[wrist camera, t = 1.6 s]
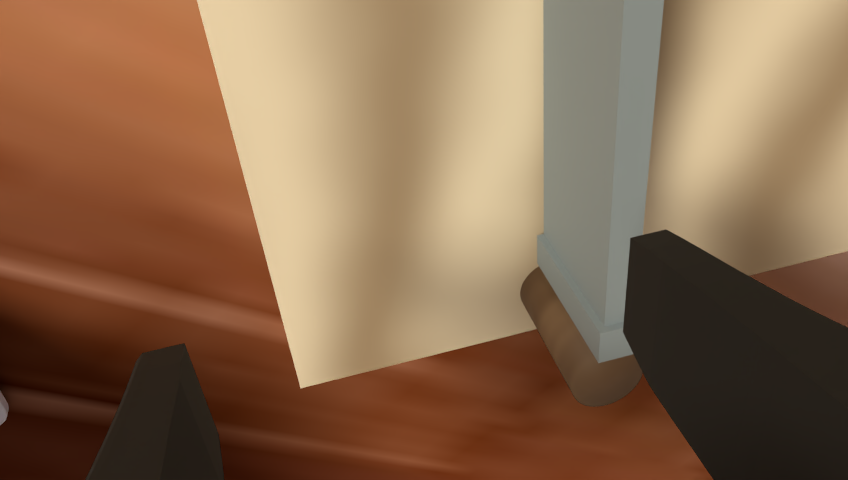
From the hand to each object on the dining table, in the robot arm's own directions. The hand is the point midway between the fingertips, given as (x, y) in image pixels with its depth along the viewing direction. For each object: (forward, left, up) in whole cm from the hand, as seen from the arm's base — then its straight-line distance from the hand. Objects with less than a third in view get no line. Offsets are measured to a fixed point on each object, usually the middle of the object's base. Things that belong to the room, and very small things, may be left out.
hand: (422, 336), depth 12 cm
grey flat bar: (+5, +1, -8) cm, 10 cm away
